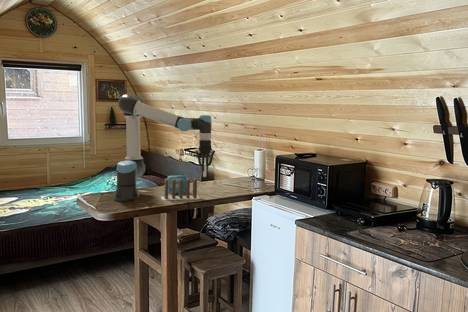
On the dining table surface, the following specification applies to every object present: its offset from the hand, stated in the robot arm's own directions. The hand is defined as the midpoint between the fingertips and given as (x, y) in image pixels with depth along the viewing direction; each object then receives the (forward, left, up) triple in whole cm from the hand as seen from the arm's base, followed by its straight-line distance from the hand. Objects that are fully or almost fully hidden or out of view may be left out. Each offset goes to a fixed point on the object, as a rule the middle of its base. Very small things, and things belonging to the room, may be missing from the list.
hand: (204, 176), depth 270 cm
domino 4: (-11, 0, -13) cm, 17 cm away
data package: (-15, +18, -15) cm, 28 cm away
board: (-15, 0, -14) cm, 21 cm away
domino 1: (-24, 0, -13) cm, 28 cm away
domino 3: (-15, 0, -13) cm, 20 cm away
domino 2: (-20, 0, -13) cm, 24 cm away
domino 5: (-6, 0, -13) cm, 15 cm away
